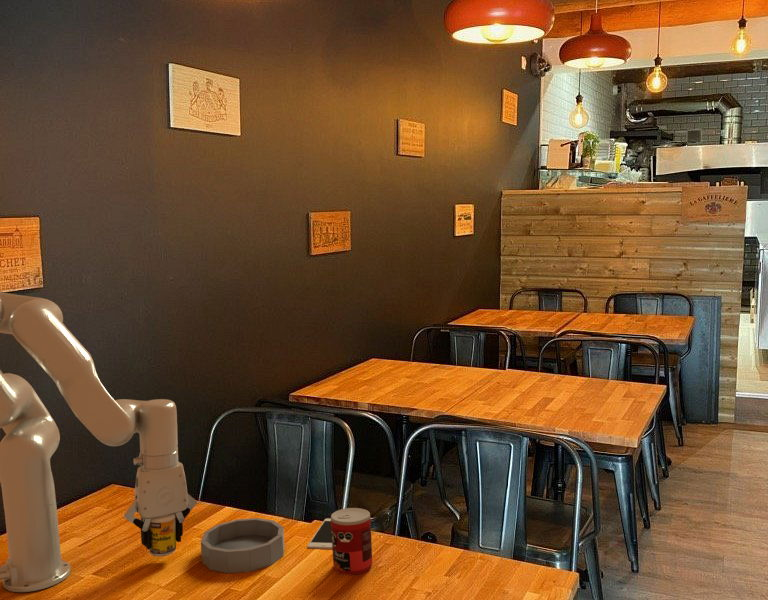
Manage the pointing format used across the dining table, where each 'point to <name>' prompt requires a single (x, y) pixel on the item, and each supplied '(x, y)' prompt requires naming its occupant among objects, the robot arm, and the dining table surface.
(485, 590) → the dining table surface
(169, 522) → the supplement bottle
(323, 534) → the smartphone
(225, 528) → the bowl
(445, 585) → the dining table surface
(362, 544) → the canned food
